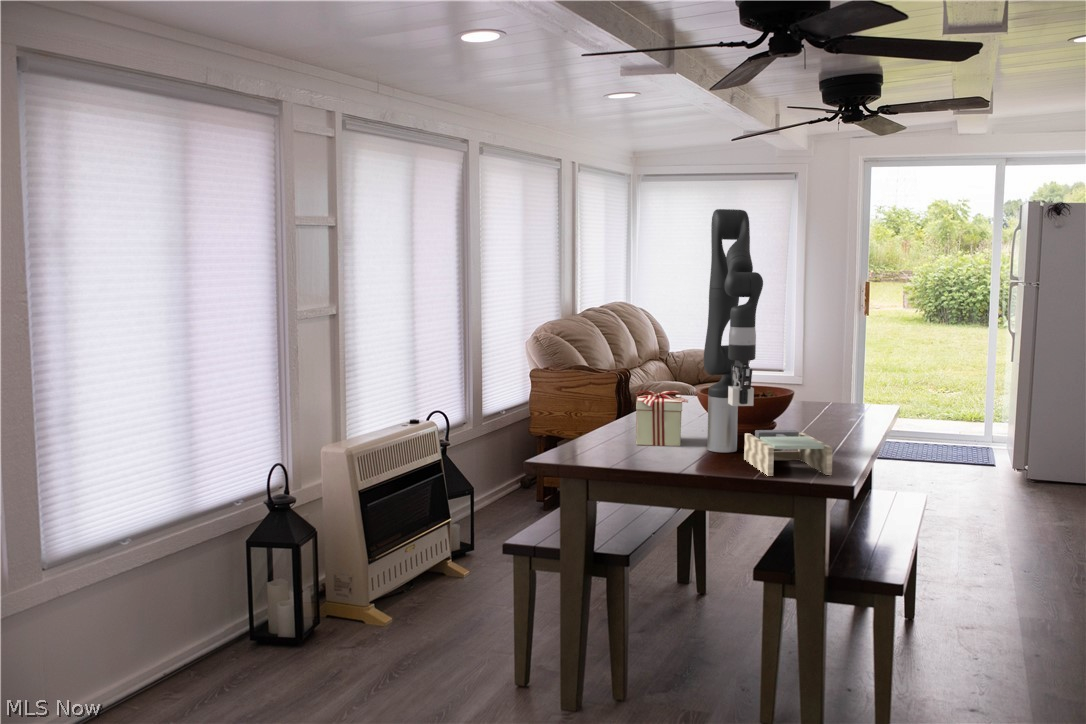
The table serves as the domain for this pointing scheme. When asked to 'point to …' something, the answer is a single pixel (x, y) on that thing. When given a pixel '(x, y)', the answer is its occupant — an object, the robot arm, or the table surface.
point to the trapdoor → (787, 439)
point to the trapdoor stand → (785, 455)
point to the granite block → (734, 396)
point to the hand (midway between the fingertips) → (740, 402)
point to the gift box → (658, 418)
